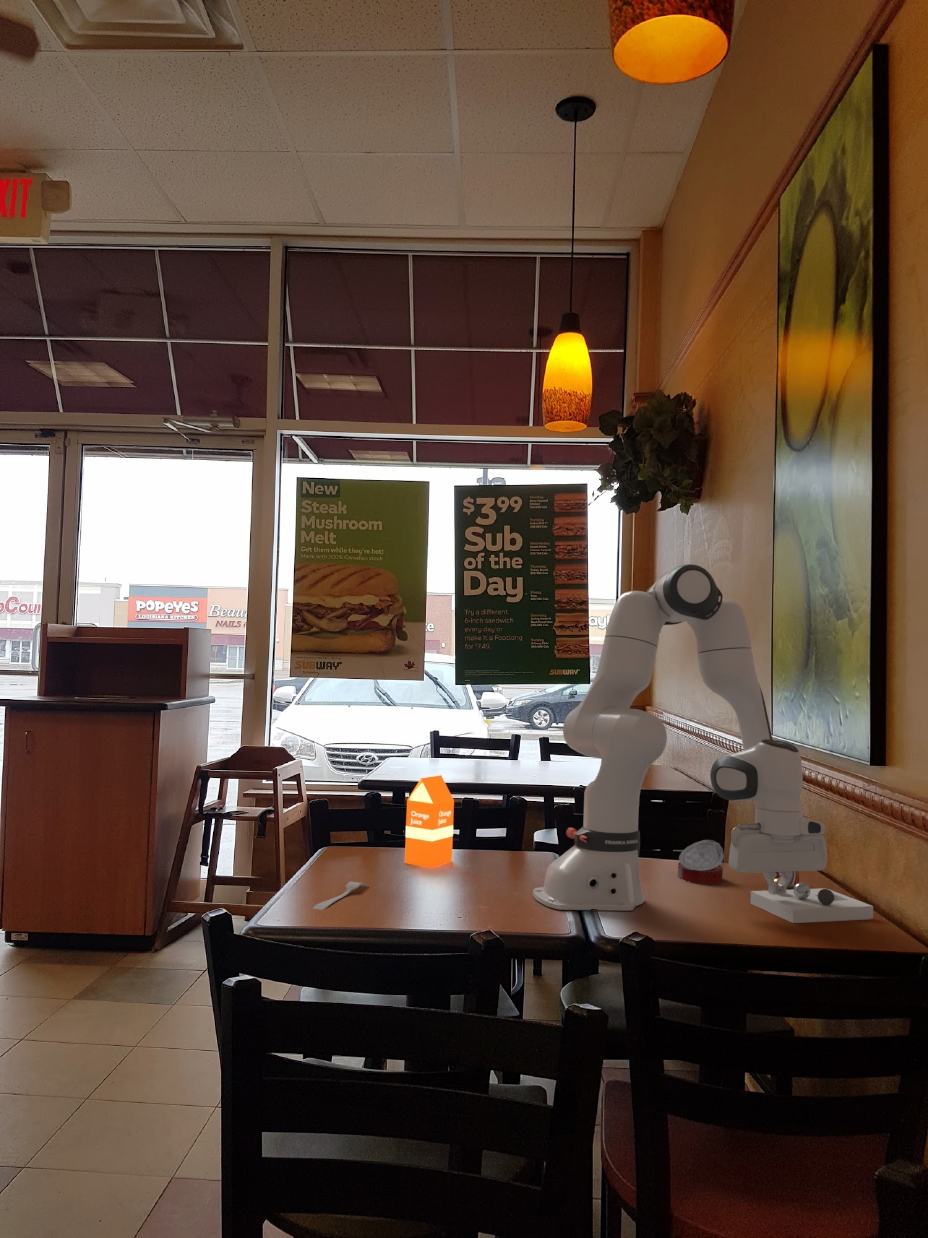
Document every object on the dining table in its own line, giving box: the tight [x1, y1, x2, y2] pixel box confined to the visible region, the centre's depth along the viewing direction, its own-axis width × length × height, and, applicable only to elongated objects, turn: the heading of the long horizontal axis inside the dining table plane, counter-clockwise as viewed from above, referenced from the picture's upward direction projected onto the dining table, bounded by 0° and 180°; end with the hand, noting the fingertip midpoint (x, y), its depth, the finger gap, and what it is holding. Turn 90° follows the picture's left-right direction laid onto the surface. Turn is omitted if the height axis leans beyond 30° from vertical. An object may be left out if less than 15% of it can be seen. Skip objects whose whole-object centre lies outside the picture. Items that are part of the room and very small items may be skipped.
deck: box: [749, 887, 874, 924], centre depth 180 cm, size 18×14×2 cm
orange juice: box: [404, 774, 455, 869], centre depth 213 cm, size 8×9×20 cm
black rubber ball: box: [818, 888, 834, 905], centre depth 175 cm, size 3×3×3 cm
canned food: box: [677, 839, 725, 885], centre depth 205 cm, size 11×10×10 cm
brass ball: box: [774, 878, 788, 889], centre depth 183 cm, size 3×3×3 cm
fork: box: [312, 881, 371, 911], centre depth 179 cm, size 3×21×3 cm, turn 159°
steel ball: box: [792, 881, 811, 899], centre depth 179 cm, size 3×3×3 cm
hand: (777, 894), depth 178 cm, fingers closed
